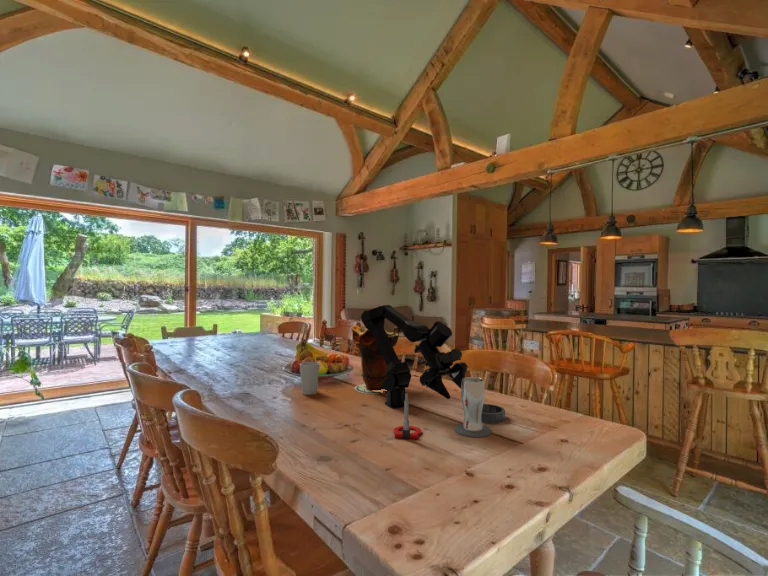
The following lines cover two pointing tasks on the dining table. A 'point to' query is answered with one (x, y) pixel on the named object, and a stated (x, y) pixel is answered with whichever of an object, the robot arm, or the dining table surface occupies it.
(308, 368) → the cup
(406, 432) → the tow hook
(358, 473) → the dining table surface
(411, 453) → the dining table surface
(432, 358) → the robot arm
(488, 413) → the ring holder
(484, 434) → the coaster
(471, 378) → the beer glass
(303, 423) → the dining table surface
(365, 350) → the decorative vase
